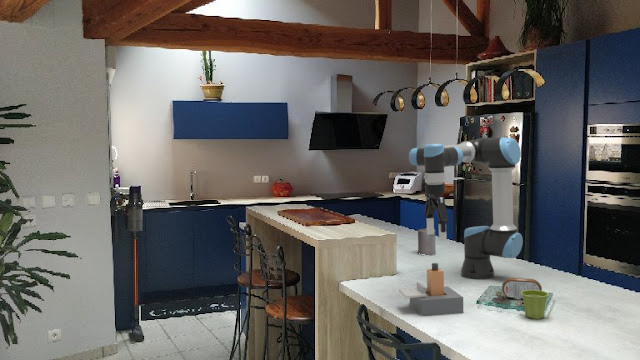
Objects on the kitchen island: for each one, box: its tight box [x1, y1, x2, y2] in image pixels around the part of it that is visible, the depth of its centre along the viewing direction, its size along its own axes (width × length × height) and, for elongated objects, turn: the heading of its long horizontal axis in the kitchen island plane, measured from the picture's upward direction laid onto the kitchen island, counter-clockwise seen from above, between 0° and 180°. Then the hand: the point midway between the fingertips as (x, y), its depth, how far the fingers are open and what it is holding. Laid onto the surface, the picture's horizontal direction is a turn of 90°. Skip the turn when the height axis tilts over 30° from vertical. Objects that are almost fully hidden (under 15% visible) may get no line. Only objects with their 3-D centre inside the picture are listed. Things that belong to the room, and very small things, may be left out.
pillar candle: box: [417, 227, 436, 256], centre depth 317 cm, size 10×10×15 cm
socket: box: [409, 285, 464, 317], centre depth 218 cm, size 16×16×6 cm
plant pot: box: [521, 290, 549, 320], centre depth 204 cm, size 9×9×9 cm
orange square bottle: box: [426, 262, 445, 296], centre depth 217 cm, size 5×5×16 cm
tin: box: [501, 277, 543, 298], centre depth 226 cm, size 15×3×8 cm, turn 71°
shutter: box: [398, 282, 427, 299], centre depth 216 cm, size 8×10×3 cm
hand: (436, 237), depth 221 cm, fingers open, 13 cm apart
